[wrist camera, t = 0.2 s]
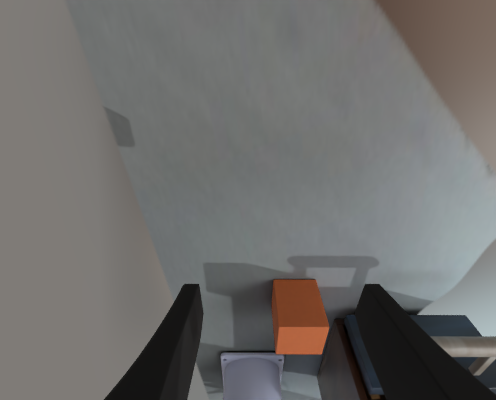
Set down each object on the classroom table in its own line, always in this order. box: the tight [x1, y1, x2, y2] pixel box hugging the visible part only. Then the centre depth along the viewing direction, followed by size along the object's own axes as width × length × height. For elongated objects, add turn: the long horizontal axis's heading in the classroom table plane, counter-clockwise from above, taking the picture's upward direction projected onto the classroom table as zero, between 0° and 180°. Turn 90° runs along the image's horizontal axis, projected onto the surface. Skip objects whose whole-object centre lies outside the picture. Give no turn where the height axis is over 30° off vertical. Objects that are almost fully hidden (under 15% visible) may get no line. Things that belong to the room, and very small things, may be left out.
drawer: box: [344, 315, 496, 400], centre depth 26 cm, size 17×13×7 cm
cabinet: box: [317, 319, 368, 400], centre depth 28 cm, size 13×14×8 cm
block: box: [271, 279, 329, 354], centre depth 24 cm, size 4×4×5 cm
